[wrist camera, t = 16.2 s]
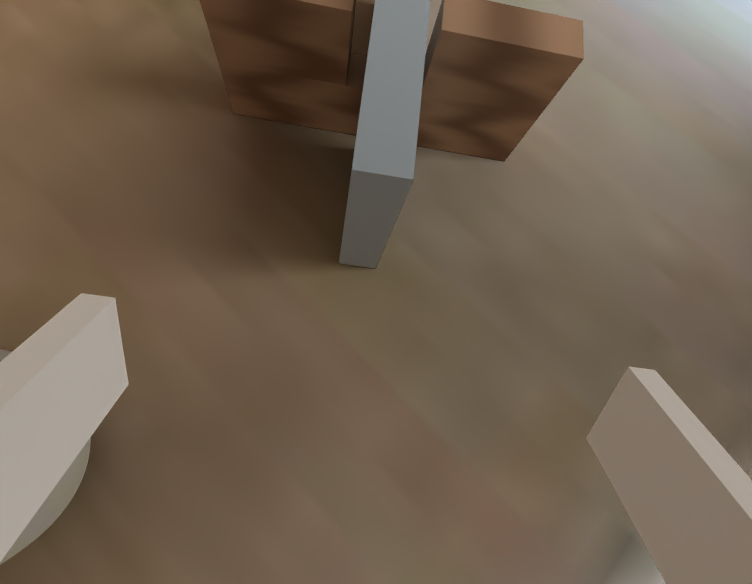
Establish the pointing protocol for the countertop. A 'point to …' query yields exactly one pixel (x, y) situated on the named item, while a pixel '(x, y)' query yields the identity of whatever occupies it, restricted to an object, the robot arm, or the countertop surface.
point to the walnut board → (440, 79)
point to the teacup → (51, 498)
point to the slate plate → (385, 128)
